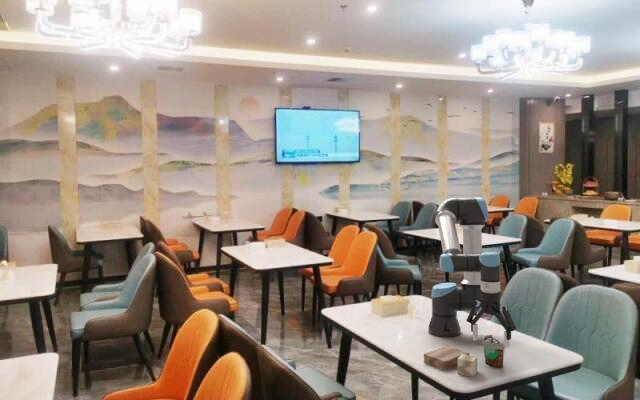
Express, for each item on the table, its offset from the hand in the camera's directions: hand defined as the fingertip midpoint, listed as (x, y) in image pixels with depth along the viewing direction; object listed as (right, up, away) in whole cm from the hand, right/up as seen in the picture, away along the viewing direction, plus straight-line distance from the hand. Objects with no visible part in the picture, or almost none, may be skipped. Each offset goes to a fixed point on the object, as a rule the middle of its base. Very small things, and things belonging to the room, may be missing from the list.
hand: (490, 343), depth 210 cm
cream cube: (-11, -9, -7) cm, 16 cm away
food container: (0, -9, +1) cm, 9 cm away
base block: (-17, -9, +4) cm, 19 cm away
